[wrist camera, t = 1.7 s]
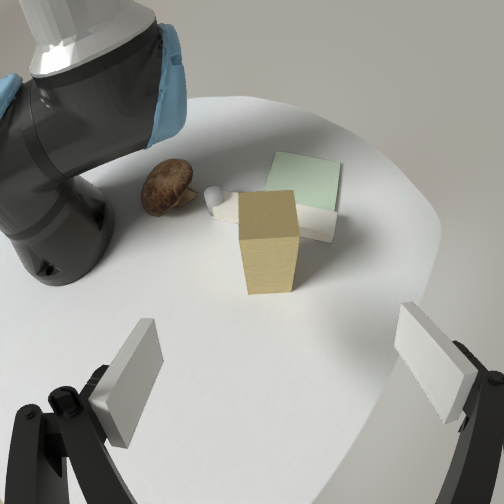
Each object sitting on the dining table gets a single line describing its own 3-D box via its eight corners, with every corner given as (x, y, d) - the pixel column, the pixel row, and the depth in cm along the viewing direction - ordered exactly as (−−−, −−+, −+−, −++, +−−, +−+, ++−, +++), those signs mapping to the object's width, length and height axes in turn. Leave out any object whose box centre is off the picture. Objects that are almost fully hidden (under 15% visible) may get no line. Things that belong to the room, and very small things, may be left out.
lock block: (248, 294, 33) (238, 240, 23) (246, 256, 35) (238, 192, 25) (291, 291, 32) (300, 236, 23) (287, 254, 35) (293, 189, 25)
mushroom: (220, 181, 36) (180, 151, 32) (182, 238, 36) (139, 212, 32) (195, 171, 42) (161, 146, 38) (163, 219, 42) (127, 197, 38)
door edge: (204, 217, 38) (199, 201, 35) (212, 198, 39) (208, 181, 36) (331, 243, 35) (336, 227, 32) (334, 221, 36) (339, 205, 34)
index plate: (260, 202, 38) (260, 199, 38) (276, 153, 42) (276, 150, 42) (333, 217, 37) (333, 214, 36) (339, 165, 41) (340, 162, 40)
